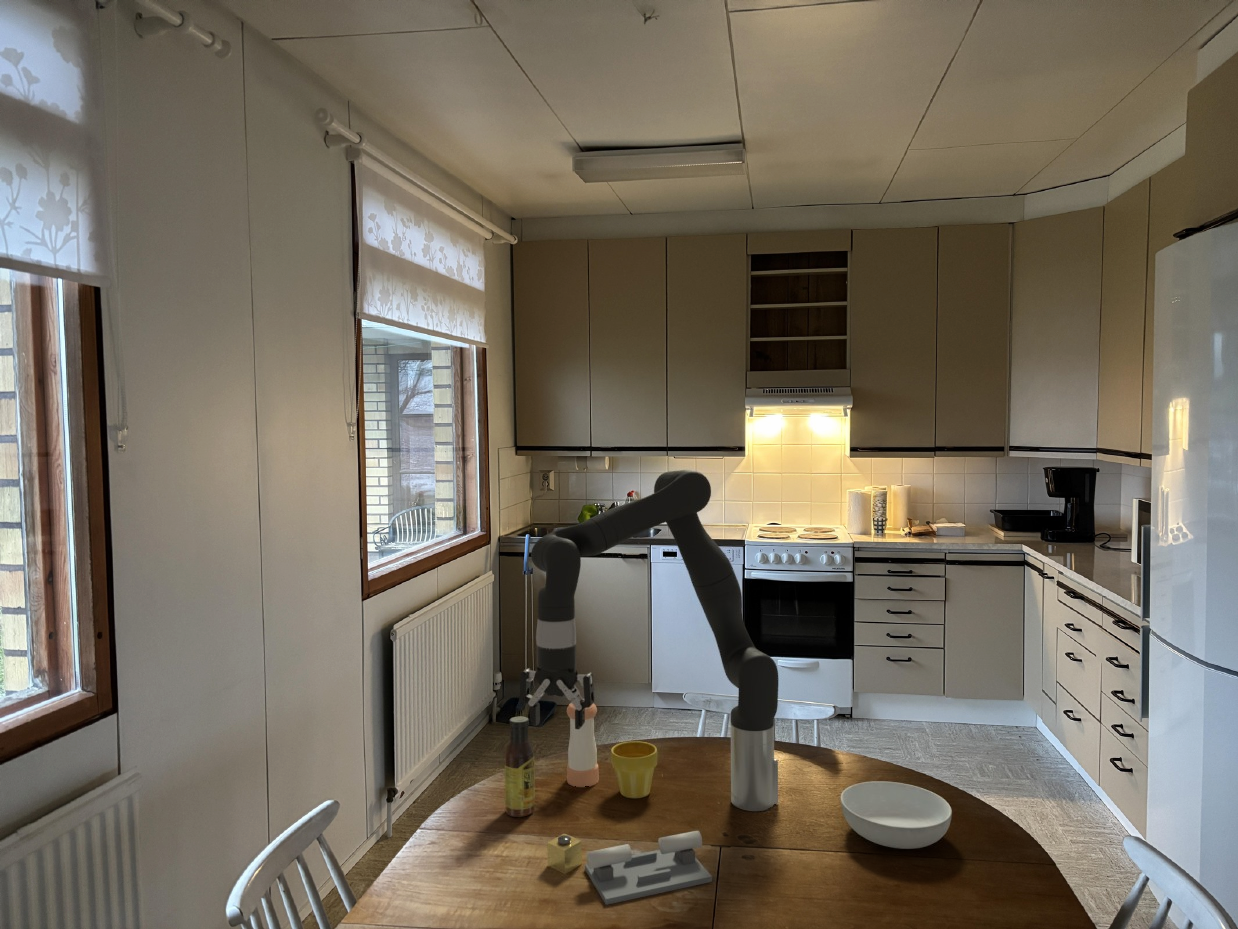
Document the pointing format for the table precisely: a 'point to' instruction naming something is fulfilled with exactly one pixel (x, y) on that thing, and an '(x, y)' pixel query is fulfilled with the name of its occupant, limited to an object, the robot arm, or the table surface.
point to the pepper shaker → (582, 750)
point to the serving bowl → (896, 814)
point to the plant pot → (634, 767)
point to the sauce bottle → (519, 770)
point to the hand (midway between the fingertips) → (557, 726)
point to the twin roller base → (647, 868)
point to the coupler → (564, 853)
